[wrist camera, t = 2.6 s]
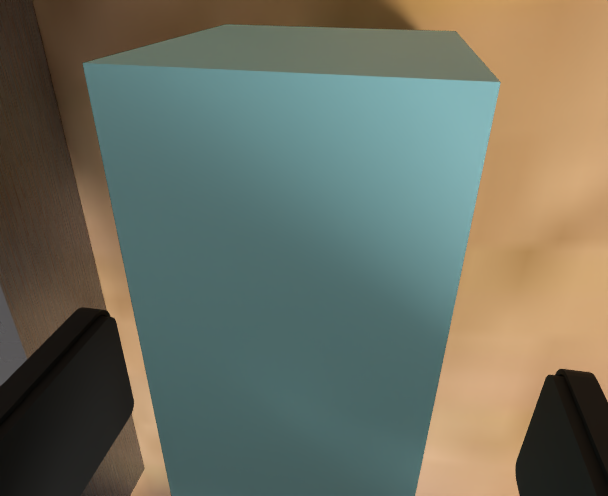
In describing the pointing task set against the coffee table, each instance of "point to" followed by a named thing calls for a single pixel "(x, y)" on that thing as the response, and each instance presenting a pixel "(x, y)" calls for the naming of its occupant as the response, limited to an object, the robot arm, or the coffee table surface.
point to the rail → (44, 226)
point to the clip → (293, 244)
